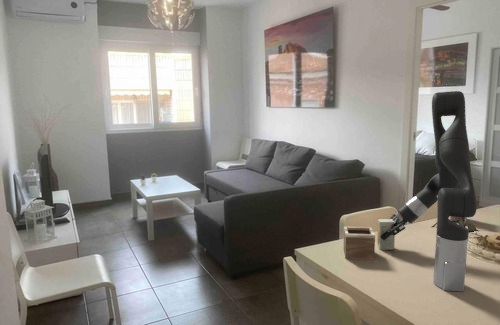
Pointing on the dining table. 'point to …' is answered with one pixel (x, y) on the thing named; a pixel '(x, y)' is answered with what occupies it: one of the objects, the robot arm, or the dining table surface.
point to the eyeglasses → (461, 222)
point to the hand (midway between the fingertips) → (381, 236)
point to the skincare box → (382, 228)
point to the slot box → (359, 243)
